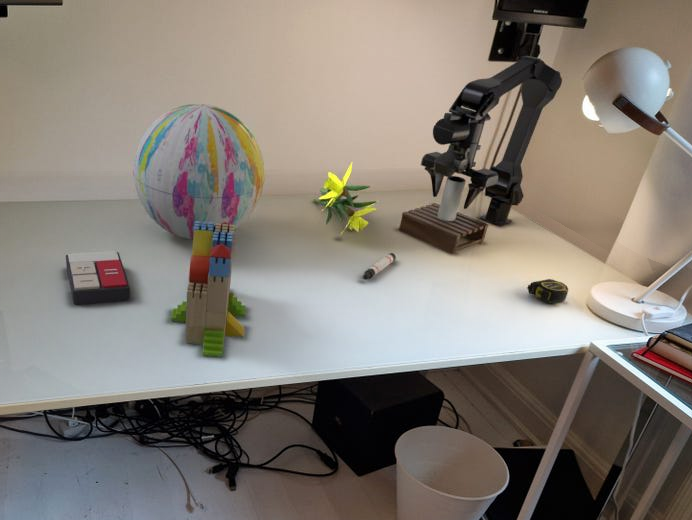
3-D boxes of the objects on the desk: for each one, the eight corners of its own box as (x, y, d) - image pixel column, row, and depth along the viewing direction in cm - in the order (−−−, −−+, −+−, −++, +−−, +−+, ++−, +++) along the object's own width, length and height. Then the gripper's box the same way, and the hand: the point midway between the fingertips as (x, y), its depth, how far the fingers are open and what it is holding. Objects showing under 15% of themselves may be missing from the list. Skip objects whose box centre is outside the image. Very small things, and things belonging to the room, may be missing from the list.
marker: (387, 259, 155) (389, 251, 154) (394, 261, 154) (396, 254, 153) (358, 281, 144) (360, 272, 143) (366, 284, 143) (368, 275, 142)
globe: (236, 208, 174) (245, 90, 157) (276, 257, 151) (292, 124, 134) (124, 213, 165) (121, 88, 148) (148, 266, 142) (147, 125, 125)
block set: (180, 279, 138) (183, 191, 127) (246, 284, 138) (255, 197, 127) (163, 352, 115) (165, 252, 104) (242, 359, 115) (252, 260, 104)
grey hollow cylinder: (456, 217, 167) (467, 178, 162) (453, 223, 164) (464, 183, 158) (438, 213, 169) (449, 174, 163) (435, 219, 165) (445, 179, 159)
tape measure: (546, 290, 148) (552, 275, 146) (570, 304, 143) (576, 289, 141) (524, 294, 145) (529, 279, 143) (547, 308, 140) (553, 293, 138)
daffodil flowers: (363, 207, 185) (398, 222, 152) (317, 232, 186) (342, 252, 153) (338, 152, 180) (368, 156, 147) (290, 178, 181) (310, 188, 148)
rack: (430, 220, 178) (434, 202, 175) (483, 242, 168) (489, 224, 165) (398, 230, 170) (402, 212, 167) (451, 254, 160) (457, 235, 157)
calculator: (72, 288, 123) (65, 250, 135) (73, 307, 126) (66, 269, 137) (130, 284, 127) (118, 248, 138) (130, 303, 129) (118, 265, 140)
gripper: (414, 133, 156) (400, 196, 165) (482, 155, 145) (462, 221, 154) (442, 128, 163) (427, 189, 171) (508, 149, 151) (488, 212, 160)
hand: (449, 202), depth 164 cm, fingers open, 9 cm apart
